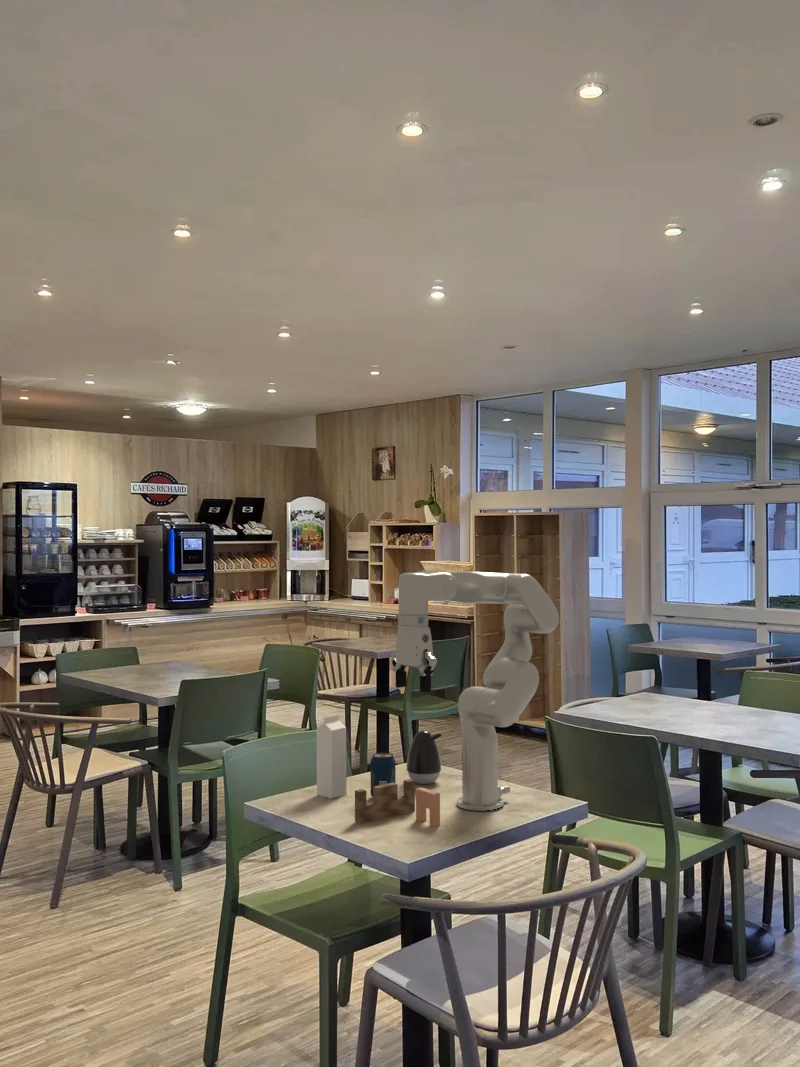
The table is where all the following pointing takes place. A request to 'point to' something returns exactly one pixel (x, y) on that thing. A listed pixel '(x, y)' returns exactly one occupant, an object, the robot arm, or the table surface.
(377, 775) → the soda can
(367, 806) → the walnut e-shaped block
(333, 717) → the milk
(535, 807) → the table surface
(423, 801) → the slotted plate
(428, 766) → the pump dispenser
